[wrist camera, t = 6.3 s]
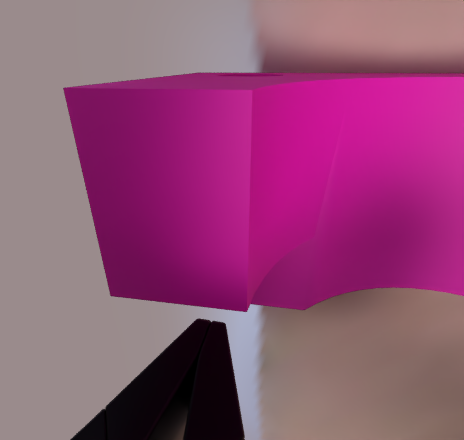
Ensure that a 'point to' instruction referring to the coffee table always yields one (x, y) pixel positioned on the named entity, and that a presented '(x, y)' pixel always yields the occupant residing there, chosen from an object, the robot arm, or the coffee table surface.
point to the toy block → (274, 185)
